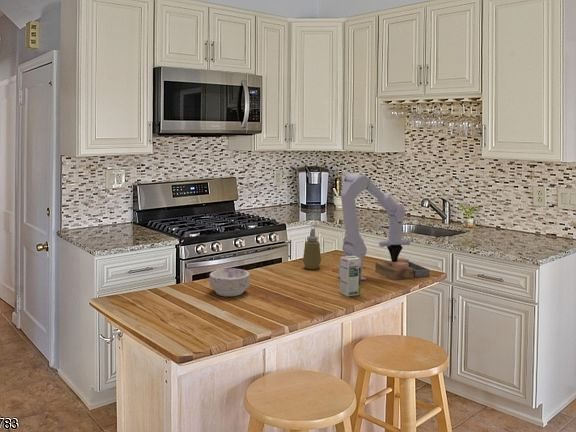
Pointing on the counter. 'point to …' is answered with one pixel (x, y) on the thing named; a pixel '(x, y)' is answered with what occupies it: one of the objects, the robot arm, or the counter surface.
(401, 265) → the tile near
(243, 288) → the marbled grey bowl
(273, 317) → the counter surface
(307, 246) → the squeeze bottle
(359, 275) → the syrup box
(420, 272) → the tray
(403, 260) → the tile far
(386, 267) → the brown flat block
